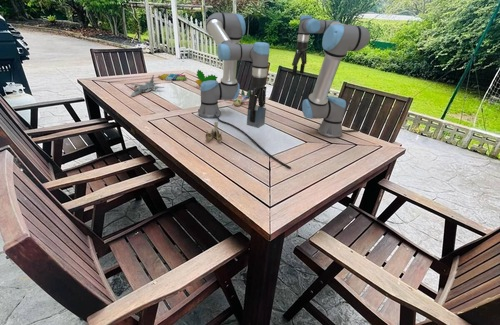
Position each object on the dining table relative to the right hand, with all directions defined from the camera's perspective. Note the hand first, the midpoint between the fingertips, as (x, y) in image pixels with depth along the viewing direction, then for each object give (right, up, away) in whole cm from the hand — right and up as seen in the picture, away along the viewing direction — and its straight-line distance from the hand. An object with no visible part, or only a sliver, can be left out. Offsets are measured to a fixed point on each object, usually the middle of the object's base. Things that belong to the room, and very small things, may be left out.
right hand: (297, 74), depth 184 cm
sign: (-117, +29, +98) cm, 156 cm away
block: (-31, -41, -41) cm, 66 cm away
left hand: (-31, -39, -43) cm, 65 cm away
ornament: (-76, +11, +71) cm, 105 cm away
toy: (-41, -11, +37) cm, 56 cm away
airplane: (-126, +1, +46) cm, 134 cm away
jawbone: (-54, -49, -33) cm, 80 cm away
